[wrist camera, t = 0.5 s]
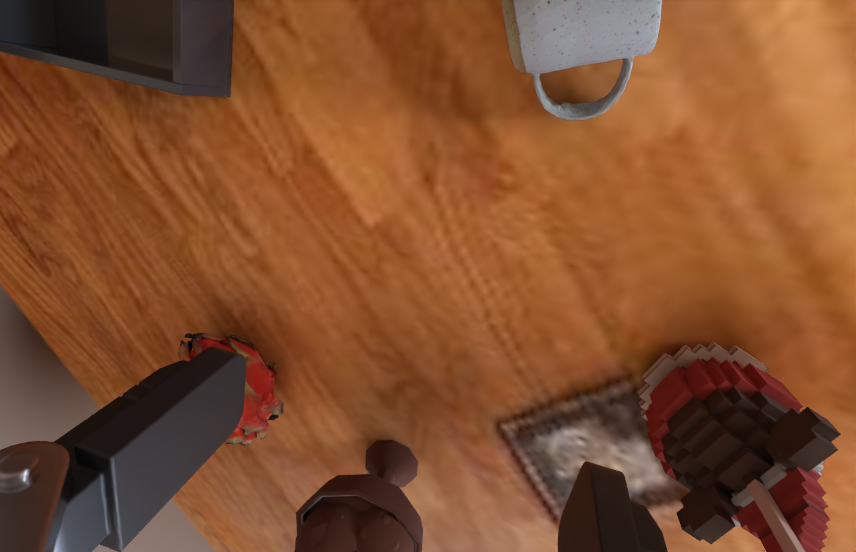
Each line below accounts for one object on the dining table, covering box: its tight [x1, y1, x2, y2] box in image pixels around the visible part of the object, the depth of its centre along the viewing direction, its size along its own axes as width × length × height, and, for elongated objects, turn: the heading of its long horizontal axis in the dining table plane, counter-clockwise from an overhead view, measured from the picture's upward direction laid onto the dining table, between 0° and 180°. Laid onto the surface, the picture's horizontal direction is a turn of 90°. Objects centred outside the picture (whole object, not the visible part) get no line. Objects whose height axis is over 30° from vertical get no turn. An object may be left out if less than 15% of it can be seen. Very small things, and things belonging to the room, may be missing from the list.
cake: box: [638, 342, 841, 552], centre depth 28 cm, size 11×9×18 cm
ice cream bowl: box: [294, 440, 423, 552], centre depth 39 cm, size 11×11×15 cm
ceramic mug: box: [501, 0, 662, 121], centre depth 27 cm, size 11×8×8 cm
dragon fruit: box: [177, 333, 283, 446], centre depth 43 cm, size 8×8×12 cm
